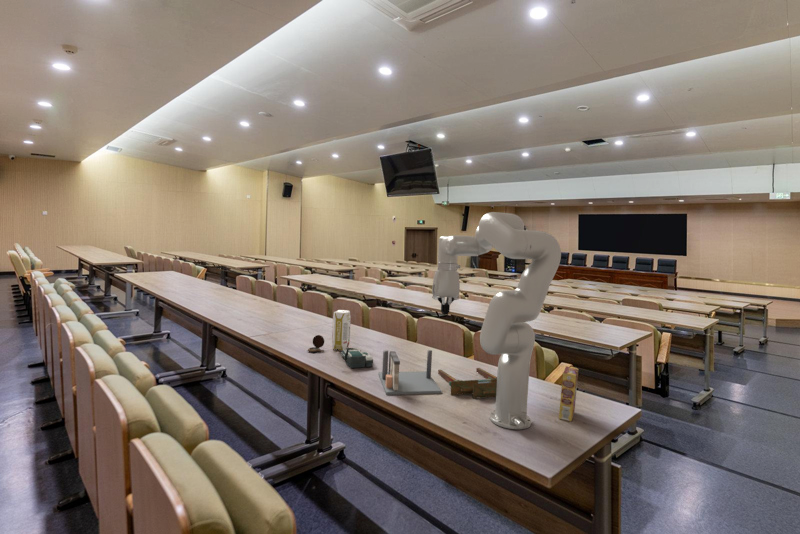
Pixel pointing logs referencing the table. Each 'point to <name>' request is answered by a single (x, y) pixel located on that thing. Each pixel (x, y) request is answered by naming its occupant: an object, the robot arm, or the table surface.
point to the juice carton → (341, 329)
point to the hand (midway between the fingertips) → (444, 314)
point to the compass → (317, 344)
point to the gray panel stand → (409, 379)
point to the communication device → (357, 358)
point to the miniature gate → (473, 385)
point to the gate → (394, 369)
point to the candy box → (568, 393)
